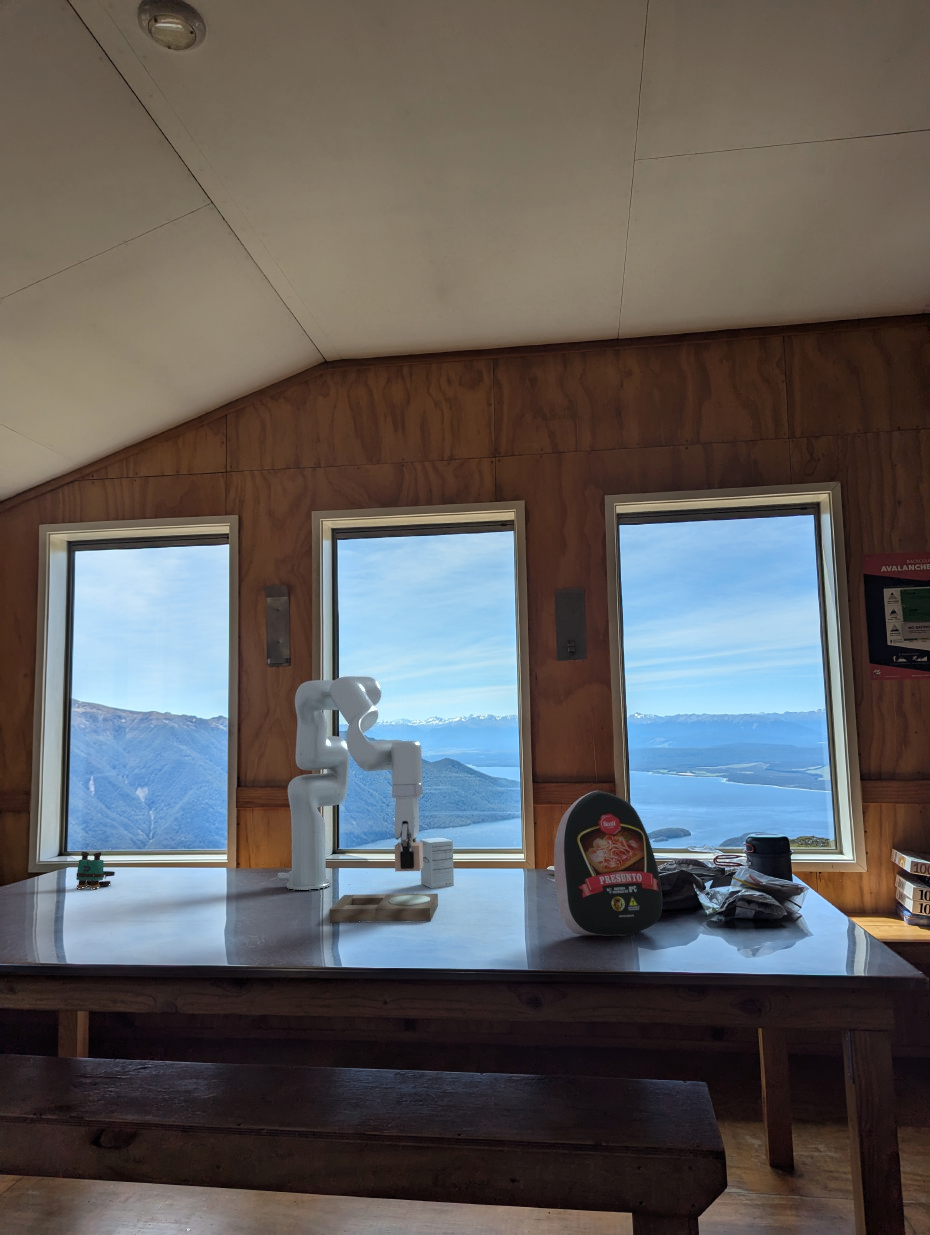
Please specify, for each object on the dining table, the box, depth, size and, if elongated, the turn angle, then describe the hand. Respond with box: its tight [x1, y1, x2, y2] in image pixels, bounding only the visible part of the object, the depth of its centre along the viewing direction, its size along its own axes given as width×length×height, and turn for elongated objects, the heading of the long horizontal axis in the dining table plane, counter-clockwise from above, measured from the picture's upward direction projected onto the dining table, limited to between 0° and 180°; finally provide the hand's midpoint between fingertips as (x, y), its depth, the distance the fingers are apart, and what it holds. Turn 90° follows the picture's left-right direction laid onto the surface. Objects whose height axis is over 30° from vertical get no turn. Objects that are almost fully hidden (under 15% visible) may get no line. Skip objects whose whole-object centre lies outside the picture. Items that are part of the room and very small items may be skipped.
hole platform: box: [328, 893, 439, 923], centre depth 207 cm, size 24×16×3 cm, turn 86°
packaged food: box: [553, 790, 663, 937], centre depth 184 cm, size 22×20×30 cm
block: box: [394, 841, 423, 872], centre depth 208 cm, size 6×6×6 cm
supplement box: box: [419, 836, 455, 889], centre depth 241 cm, size 7×7×13 cm
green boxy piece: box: [75, 851, 116, 889], centre depth 253 cm, size 9×11×10 cm
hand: (409, 865), depth 208 cm, fingers closed on block, 6 cm apart
